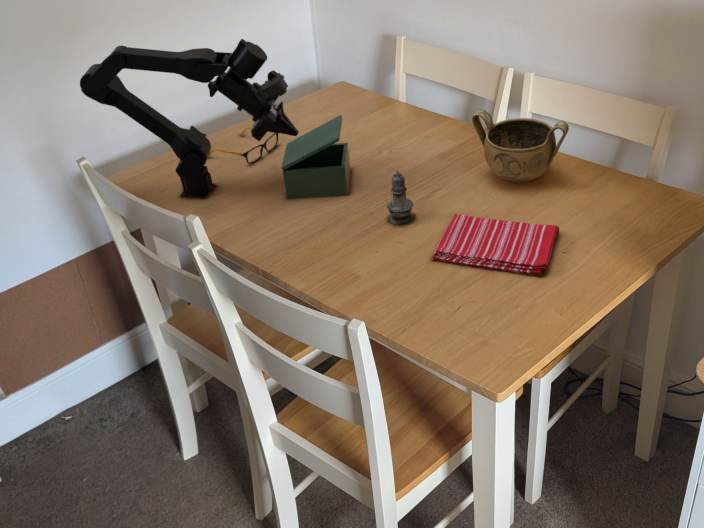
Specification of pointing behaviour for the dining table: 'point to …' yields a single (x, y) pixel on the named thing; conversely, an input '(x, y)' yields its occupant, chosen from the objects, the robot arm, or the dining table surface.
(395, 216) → the dark grey tall piece
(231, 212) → the dining table surface
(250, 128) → the eyeglasses
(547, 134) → the ceramic bowl
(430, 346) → the dining table surface
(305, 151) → the lid
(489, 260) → the dish towel
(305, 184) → the tin
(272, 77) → the robot arm
